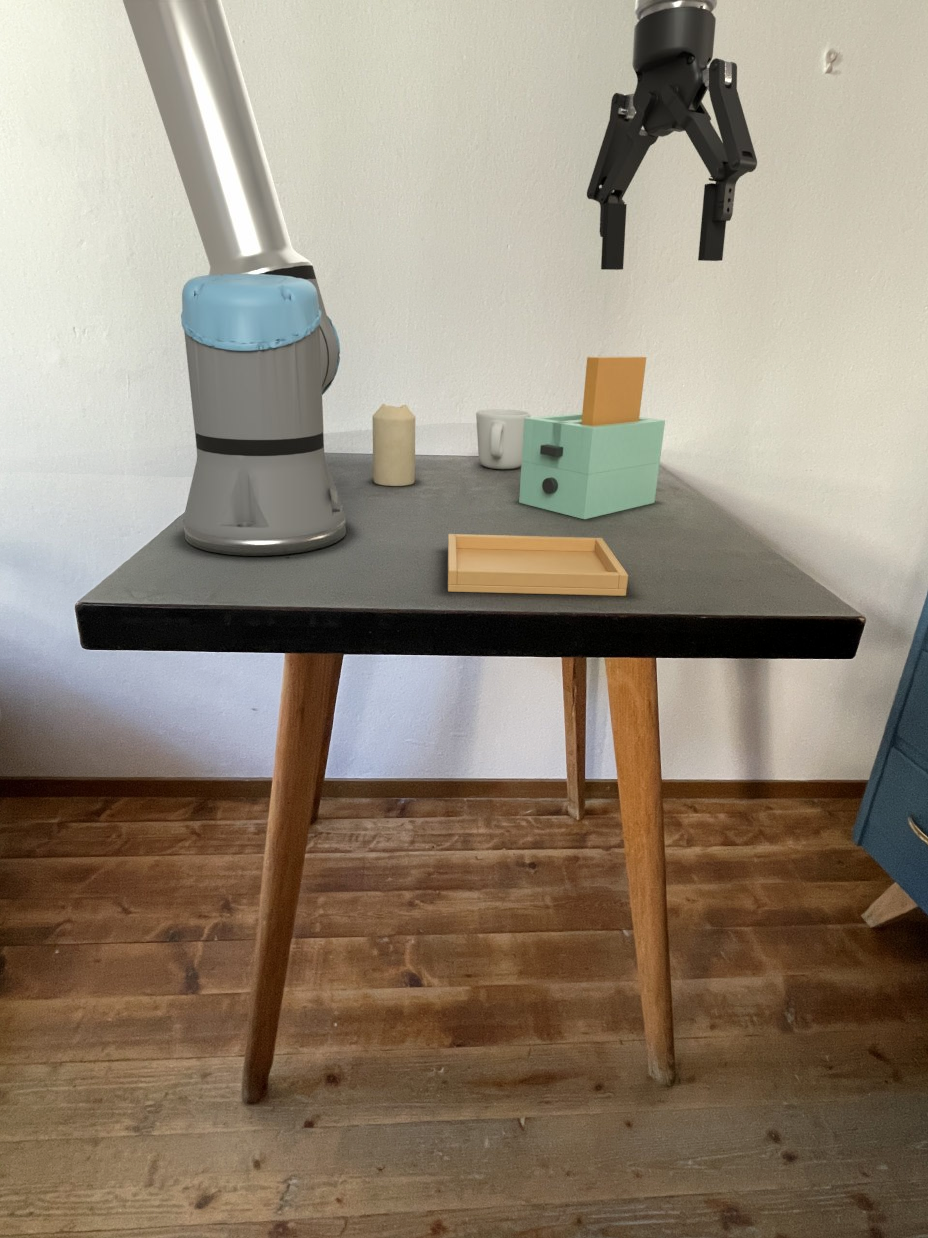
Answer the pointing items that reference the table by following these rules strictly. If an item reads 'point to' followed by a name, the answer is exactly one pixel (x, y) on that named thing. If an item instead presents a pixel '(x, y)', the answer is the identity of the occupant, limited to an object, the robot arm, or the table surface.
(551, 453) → the toaster
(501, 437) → the cup
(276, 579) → the table surface
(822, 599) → the table surface
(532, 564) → the tray
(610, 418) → the orange rectangular panel
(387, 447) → the candle
